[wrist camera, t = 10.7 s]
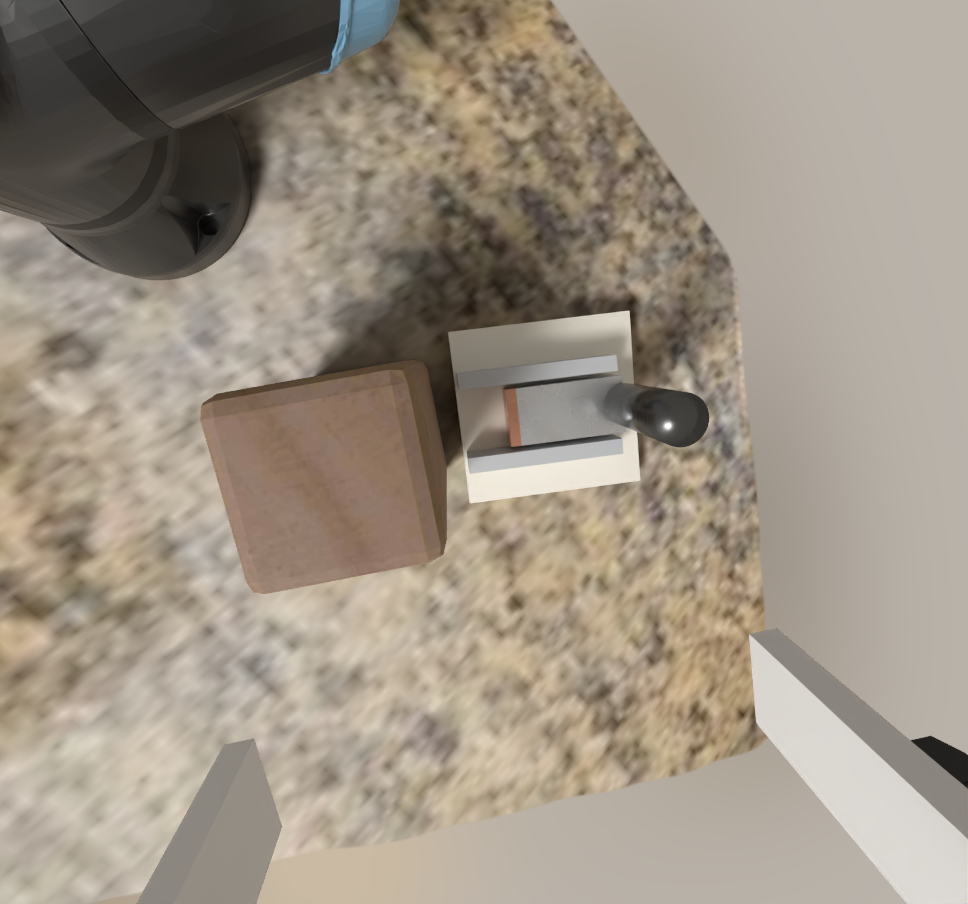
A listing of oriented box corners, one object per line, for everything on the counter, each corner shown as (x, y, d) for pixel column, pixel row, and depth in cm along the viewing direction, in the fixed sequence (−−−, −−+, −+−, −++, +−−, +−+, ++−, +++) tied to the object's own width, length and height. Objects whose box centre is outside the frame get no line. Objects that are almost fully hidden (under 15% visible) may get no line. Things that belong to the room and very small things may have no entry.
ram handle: (501, 387, 41) (524, 401, 29) (632, 371, 42) (707, 378, 30) (507, 441, 42) (532, 477, 30) (635, 425, 43) (710, 453, 31)
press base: (447, 333, 43) (448, 330, 38) (621, 312, 43) (643, 307, 38) (468, 496, 45) (471, 514, 40) (631, 475, 46) (653, 489, 41)
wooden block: (426, 357, 43) (409, 359, 23) (448, 473, 45) (450, 566, 25) (305, 378, 42) (184, 399, 23) (333, 495, 44) (243, 606, 25)
